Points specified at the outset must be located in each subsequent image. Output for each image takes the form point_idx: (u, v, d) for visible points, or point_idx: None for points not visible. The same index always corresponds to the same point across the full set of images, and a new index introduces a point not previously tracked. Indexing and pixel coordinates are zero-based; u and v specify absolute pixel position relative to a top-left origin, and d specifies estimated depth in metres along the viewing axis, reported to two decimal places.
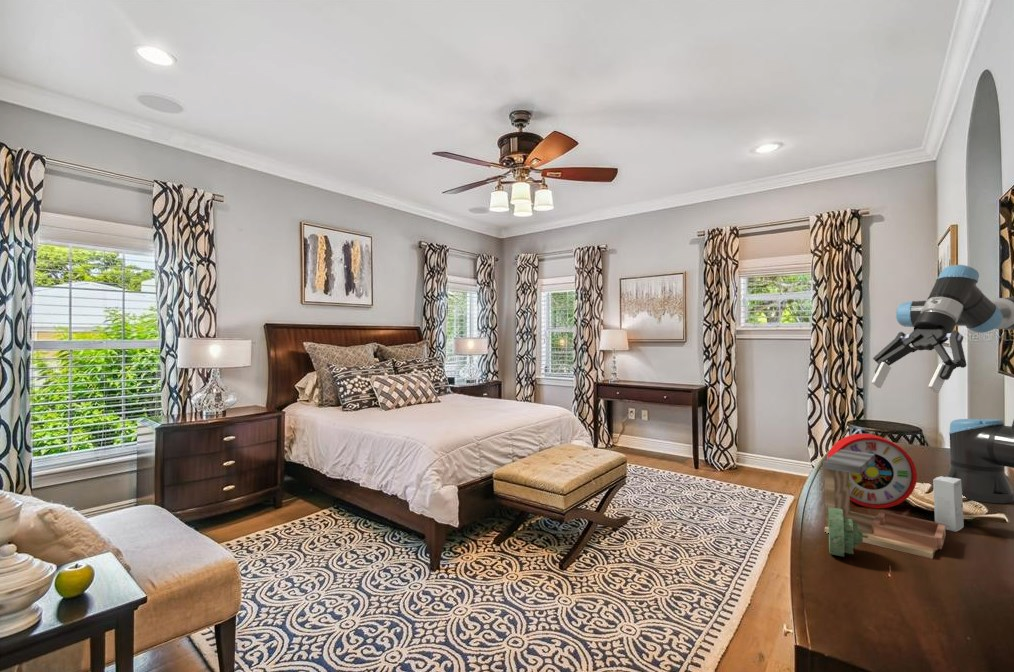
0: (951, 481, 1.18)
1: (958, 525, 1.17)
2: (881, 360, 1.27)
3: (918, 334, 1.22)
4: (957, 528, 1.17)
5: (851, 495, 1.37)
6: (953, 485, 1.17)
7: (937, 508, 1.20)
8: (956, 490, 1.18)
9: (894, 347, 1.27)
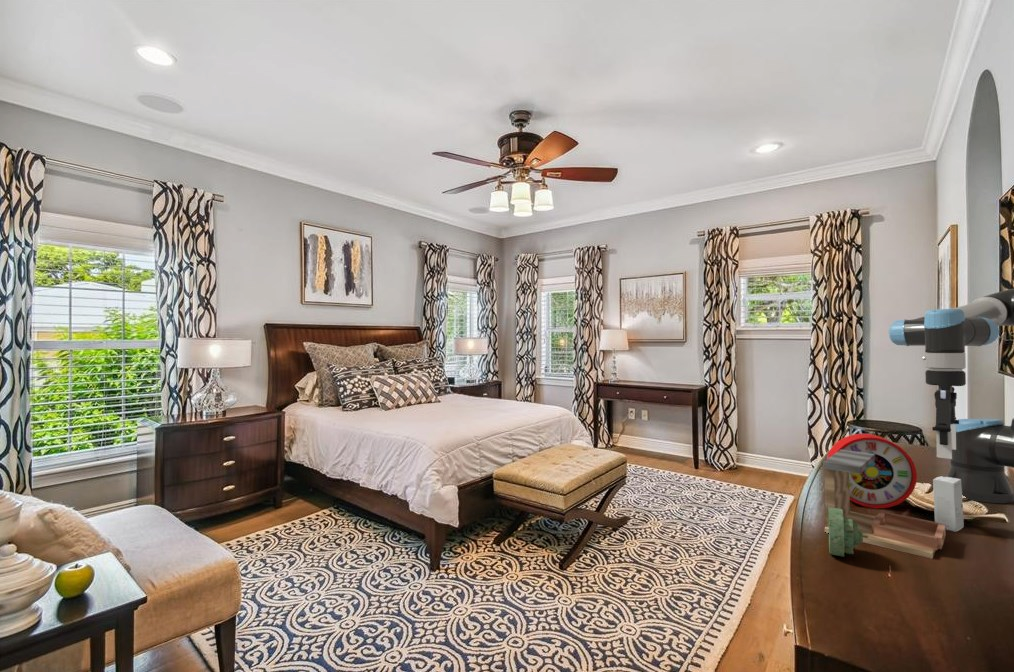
0: (951, 481, 1.18)
1: (958, 525, 1.17)
2: None
3: None
4: (957, 528, 1.17)
5: (851, 495, 1.37)
6: (953, 485, 1.17)
7: (937, 508, 1.20)
8: (956, 490, 1.18)
9: None
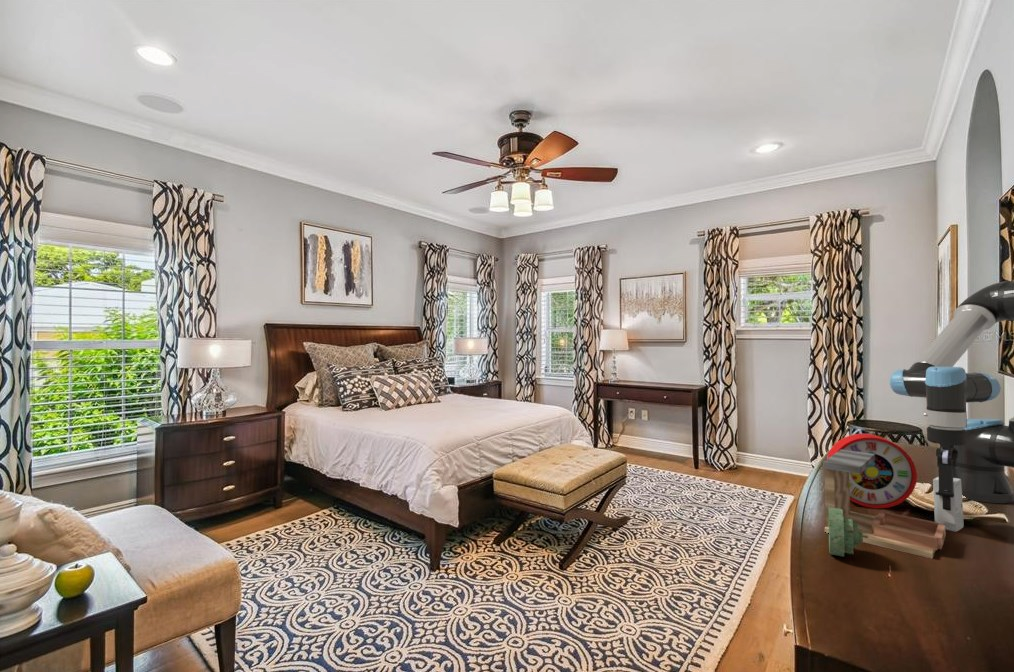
0: None
1: (958, 525, 1.17)
2: None
3: (937, 450, 1.22)
4: (957, 527, 1.17)
5: (851, 495, 1.37)
6: (953, 485, 1.17)
7: (937, 508, 1.20)
8: (956, 490, 1.18)
9: None
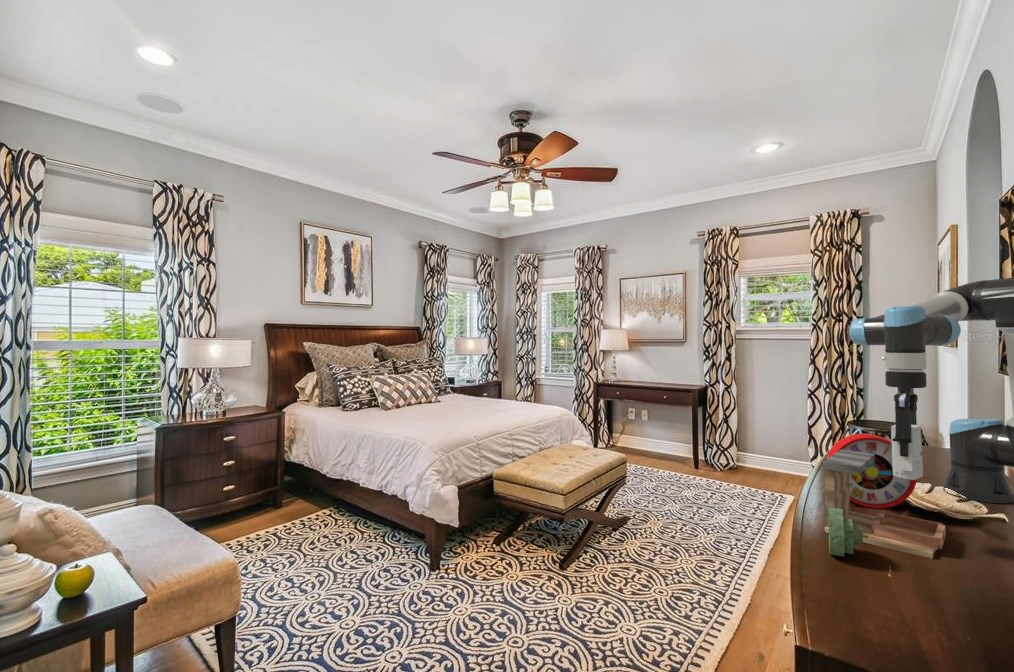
0: None
1: (916, 473, 1.10)
2: None
3: None
4: (915, 476, 1.10)
5: (851, 495, 1.37)
6: (911, 431, 1.10)
7: (895, 456, 1.13)
8: (914, 436, 1.11)
9: None
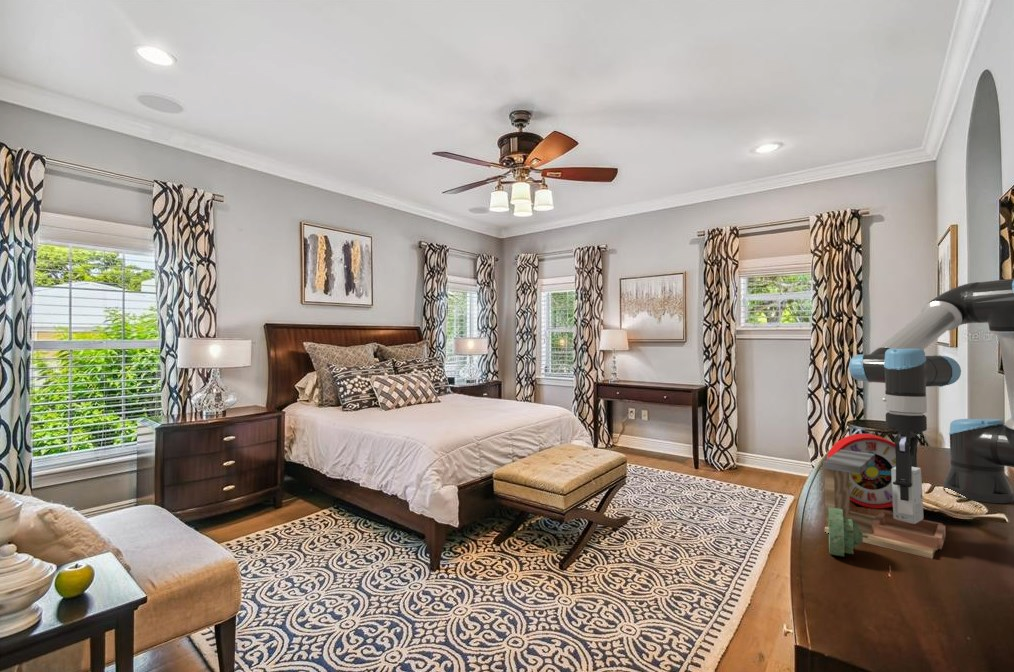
0: None
1: (917, 517, 1.10)
2: None
3: (896, 437, 1.15)
4: (915, 520, 1.10)
5: (851, 495, 1.37)
6: None
7: (895, 499, 1.12)
8: (915, 480, 1.11)
9: None
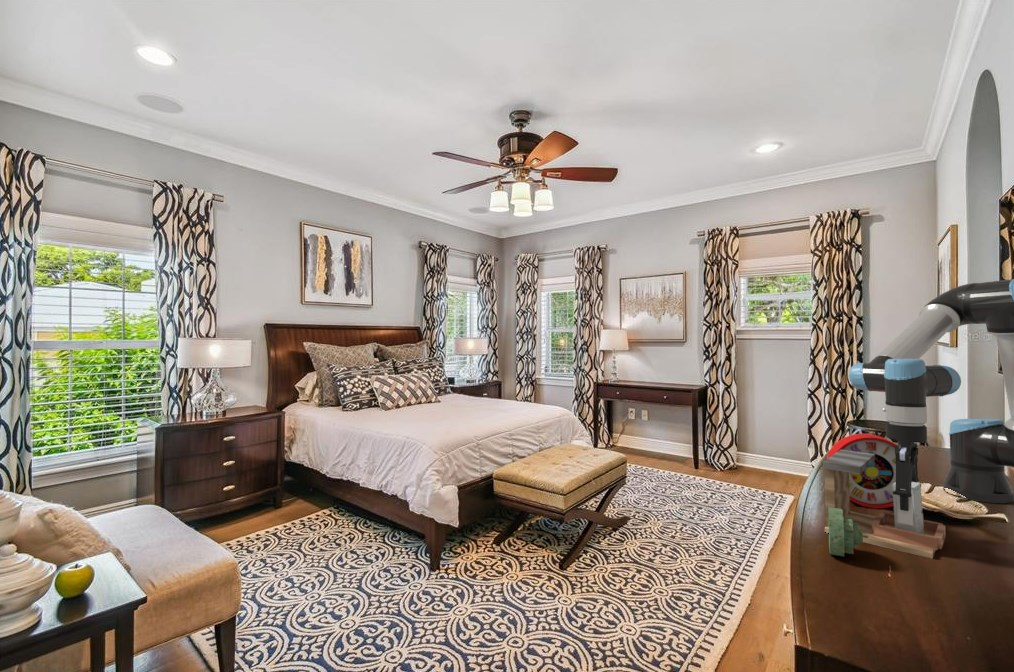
0: (911, 486, 1.11)
1: (918, 532, 1.10)
2: None
3: (896, 447, 1.15)
4: None
5: (851, 495, 1.37)
6: (913, 490, 1.10)
7: None
8: (916, 495, 1.11)
9: None
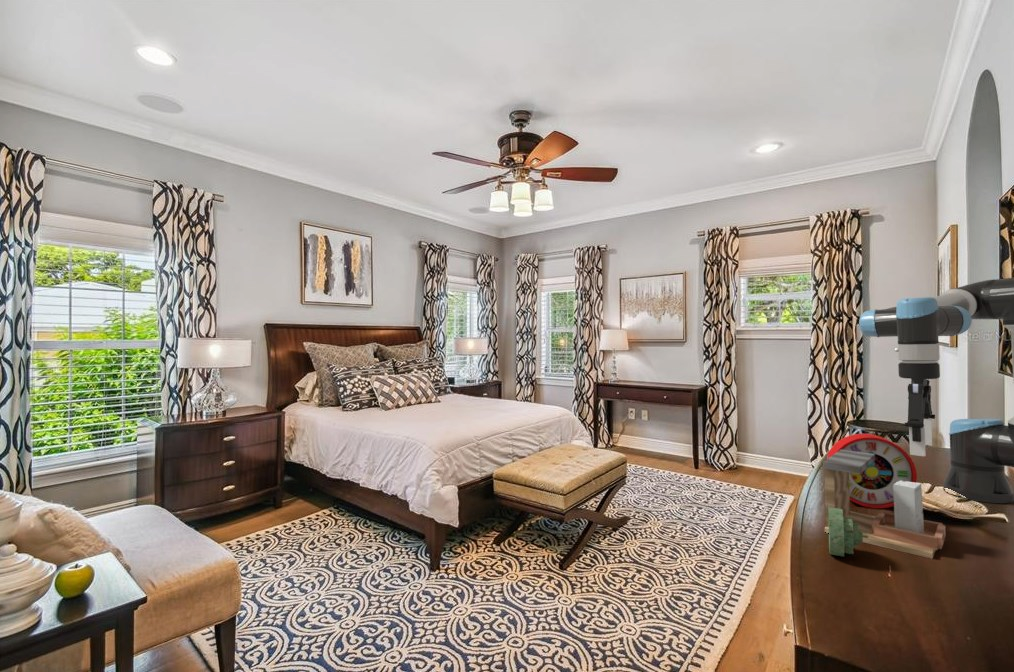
0: (911, 486, 1.11)
1: None
2: None
3: None
4: None
5: (851, 495, 1.37)
6: (913, 490, 1.10)
7: (897, 515, 1.12)
8: (916, 495, 1.11)
9: None
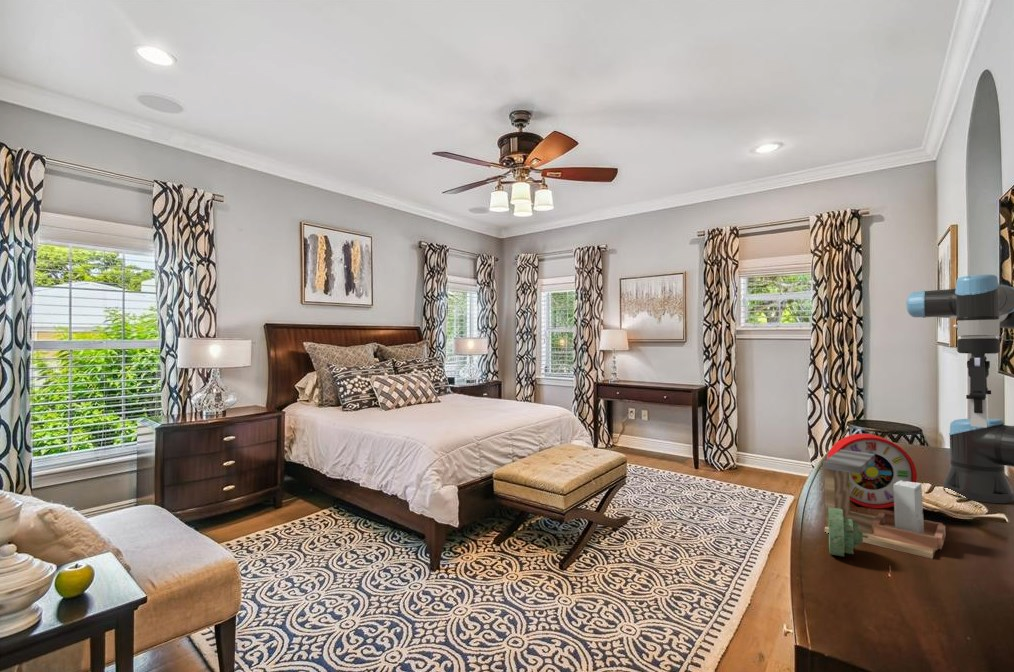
0: (911, 486, 1.11)
1: None
2: None
3: None
4: None
5: (851, 495, 1.37)
6: (914, 490, 1.10)
7: (897, 515, 1.12)
8: (916, 495, 1.11)
9: None
